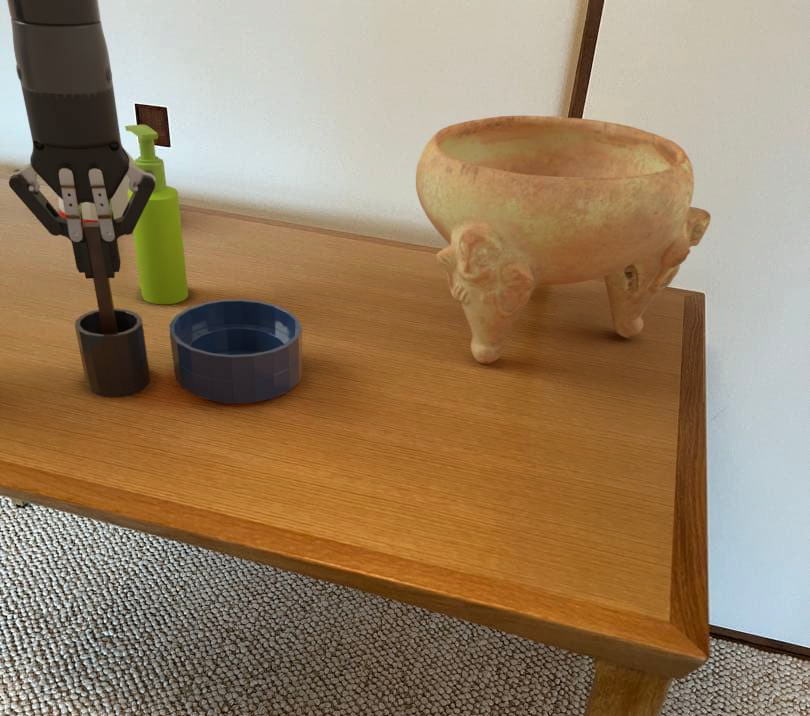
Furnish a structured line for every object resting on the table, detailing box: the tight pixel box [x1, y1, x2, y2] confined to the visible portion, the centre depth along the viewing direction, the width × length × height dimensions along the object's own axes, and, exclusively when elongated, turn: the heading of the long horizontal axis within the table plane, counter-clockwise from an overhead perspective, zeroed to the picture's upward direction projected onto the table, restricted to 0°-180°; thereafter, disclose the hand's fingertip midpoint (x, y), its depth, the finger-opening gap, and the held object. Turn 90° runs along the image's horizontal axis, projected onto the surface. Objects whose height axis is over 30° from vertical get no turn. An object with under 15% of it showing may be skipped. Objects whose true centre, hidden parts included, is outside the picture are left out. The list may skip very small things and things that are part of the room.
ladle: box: [84, 222, 118, 334], centre depth 83 cm, size 4×4×16 cm
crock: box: [74, 307, 151, 398], centre depth 87 cm, size 7×7×7 cm
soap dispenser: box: [124, 124, 189, 305], centre depth 101 cm, size 6×7×20 cm
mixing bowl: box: [169, 298, 303, 404], centre depth 90 cm, size 14×14×6 cm
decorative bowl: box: [415, 115, 711, 365], centre depth 101 cm, size 34×35×23 cm
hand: (100, 274), depth 81 cm, fingers closed on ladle, 1 cm apart
